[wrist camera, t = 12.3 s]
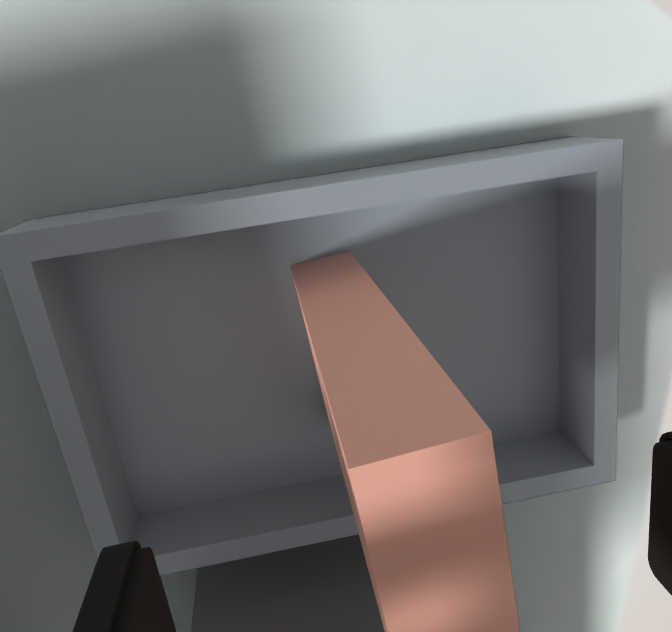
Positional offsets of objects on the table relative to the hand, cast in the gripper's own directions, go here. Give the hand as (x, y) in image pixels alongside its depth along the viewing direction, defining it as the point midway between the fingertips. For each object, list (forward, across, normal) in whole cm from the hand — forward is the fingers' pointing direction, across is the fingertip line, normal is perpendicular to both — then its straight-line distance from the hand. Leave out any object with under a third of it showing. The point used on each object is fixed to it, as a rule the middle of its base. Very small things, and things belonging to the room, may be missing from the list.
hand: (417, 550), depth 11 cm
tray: (+11, 0, 0) cm, 11 cm away
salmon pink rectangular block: (+10, 0, 0) cm, 10 cm away
